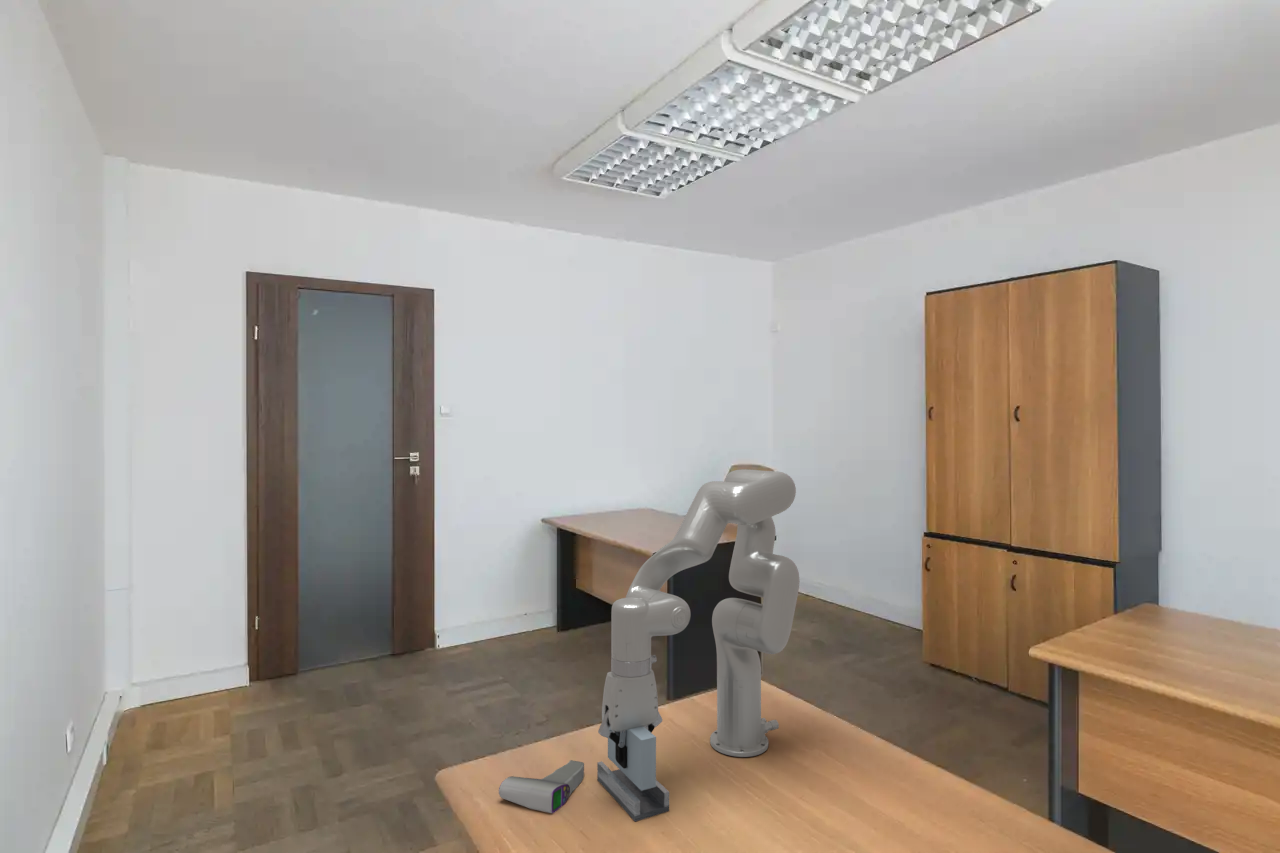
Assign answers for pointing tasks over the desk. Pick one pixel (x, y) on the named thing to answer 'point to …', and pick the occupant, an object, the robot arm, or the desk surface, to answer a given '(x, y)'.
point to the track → (633, 794)
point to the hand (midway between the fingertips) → (630, 761)
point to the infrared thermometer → (544, 788)
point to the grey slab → (638, 757)
